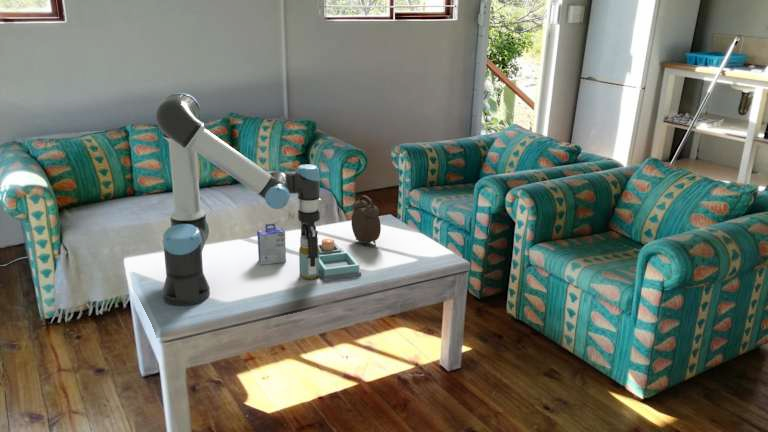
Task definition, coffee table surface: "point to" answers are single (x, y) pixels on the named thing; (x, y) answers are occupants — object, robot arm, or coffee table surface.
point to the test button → (327, 244)
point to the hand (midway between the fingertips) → (309, 269)
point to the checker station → (337, 264)
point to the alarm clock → (365, 221)
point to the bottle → (306, 259)
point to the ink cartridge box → (271, 245)
